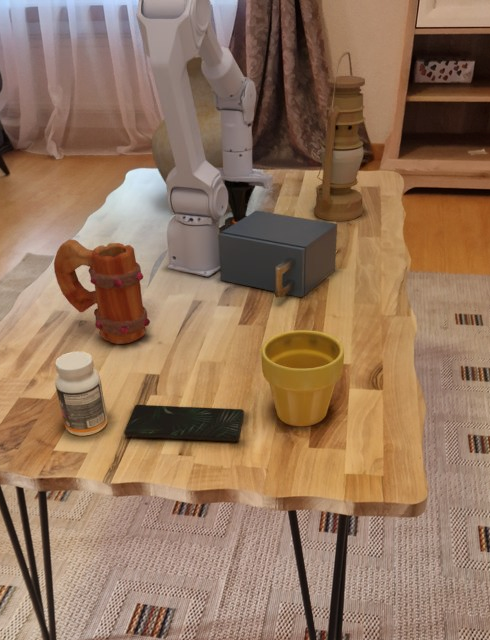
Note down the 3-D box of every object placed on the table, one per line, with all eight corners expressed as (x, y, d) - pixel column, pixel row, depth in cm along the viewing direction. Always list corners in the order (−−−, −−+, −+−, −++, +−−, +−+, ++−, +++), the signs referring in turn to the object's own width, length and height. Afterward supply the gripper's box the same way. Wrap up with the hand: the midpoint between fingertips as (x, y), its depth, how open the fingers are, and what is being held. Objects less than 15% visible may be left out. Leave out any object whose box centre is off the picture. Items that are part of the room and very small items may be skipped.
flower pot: (287, 444, 92) (288, 377, 86) (248, 406, 99) (246, 342, 93) (355, 421, 96) (360, 354, 89) (313, 386, 103) (315, 322, 97)
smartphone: (238, 437, 92) (123, 432, 94) (238, 444, 93) (124, 438, 95) (244, 408, 97) (135, 403, 99) (244, 414, 98) (135, 409, 100)
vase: (254, 219, 156) (251, 58, 137) (153, 223, 157) (135, 63, 138) (253, 187, 173) (250, 39, 154) (162, 191, 174) (147, 45, 154)
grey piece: (287, 309, 122) (287, 260, 116) (205, 290, 129) (201, 244, 124) (303, 295, 125) (304, 248, 120) (223, 278, 133) (220, 232, 127)
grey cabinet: (304, 296, 126) (305, 246, 120) (223, 278, 133) (221, 231, 127) (335, 270, 133) (337, 223, 128) (257, 255, 141) (256, 210, 135)
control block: (212, 237, 149) (211, 222, 147) (230, 226, 154) (230, 212, 152) (250, 244, 145) (249, 229, 143) (267, 233, 150) (267, 218, 148)
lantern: (318, 200, 164) (323, 45, 144) (365, 201, 162) (376, 44, 142) (309, 224, 152) (313, 58, 133) (359, 225, 150) (371, 58, 131)
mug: (161, 328, 119) (150, 236, 109) (140, 352, 113) (127, 257, 103) (82, 319, 123) (64, 229, 113) (58, 341, 117) (37, 249, 107)
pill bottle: (67, 415, 100) (52, 350, 93) (109, 412, 100) (97, 347, 94) (63, 439, 95) (48, 373, 89) (107, 435, 96) (94, 369, 89)
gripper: (280, 146, 138) (280, 219, 147) (216, 139, 144) (220, 209, 153) (261, 156, 134) (263, 230, 142) (196, 148, 140) (201, 219, 149)
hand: (239, 220), depth 147 cm, fingers closed, pressing on release button
